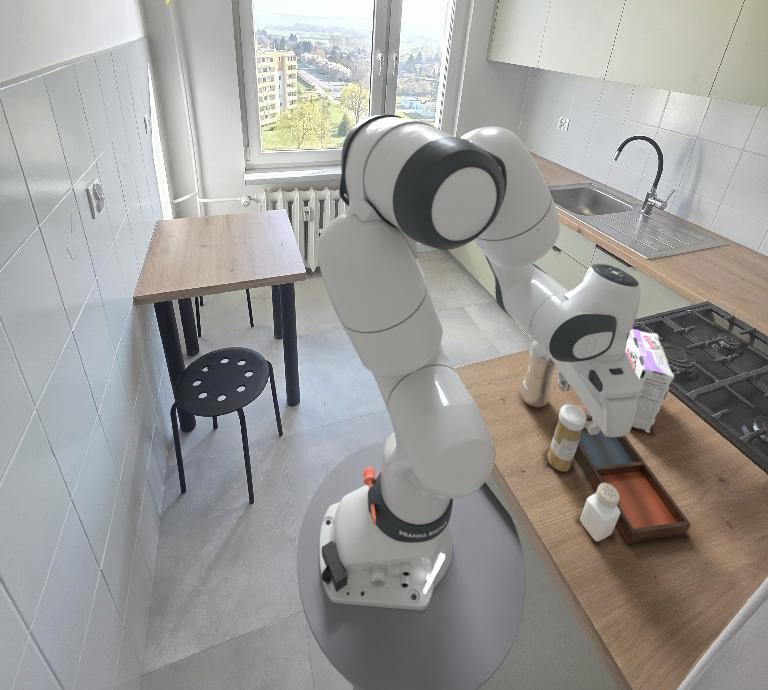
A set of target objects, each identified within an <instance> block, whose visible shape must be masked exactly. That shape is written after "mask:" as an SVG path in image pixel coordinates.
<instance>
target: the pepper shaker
mask: <svg viewBox="0 0 768 690" xmlns="http://www.w3.org/2000/svg"><path fill="white" fill-rule="evenodd" d="M619 499H620V498H619V493H618V491H617V490H616V488H614V487H613V486H612V485H610V484H608V483H601V484H600V485H599V486H598V488H597V491H596V490H595V493H592V494H591V495H589V496H588V497H587V498H586V501H585V503H584V507H583V509H582V512H581V515H580V517H579V521H580V523H581V525H582V526H583V527H584V529H585V530H586V531H587V533H588V534H589V535H590V536H591V538H592V539H593V540H594V541H595V542H600V541H602V540H604V539H606V538H607V537H609V536H611V535H612V534H613V532H614V530H615V527H616V526H617V525H616V523H617V520H618V518H619V516H620V510H619V508H618V507H617V504H618V502H619Z"/></svg>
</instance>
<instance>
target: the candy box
mask: <svg viewBox="0 0 768 690" xmlns="http://www.w3.org/2000/svg"><path fill="white" fill-rule="evenodd" d="M626 340H627V346H626V350H625V352H626V354H627V355H628V358H629V361H630V363H631V365H632V367H633V369H634V371H635V373H636V374H637V376H638V378H639V380H640V381H641V383H642V385H643V391H642V393H641V394H640V395H636V396H635V398H636V401H637V411H636V415H635V419H634V422H633V425H632V428H631V429H634V430H638V431H640V432H644V433H647V434H651V431H652V429H653V428H654V425H655V422H656V420H657V418H658V415H659V414H660V411H661V409H662V406H663V403H664V402H665V400H666V397H667V395H668V393H669V390H670V388H671V386H672V383H673V381H674V379H675V374H674V373H673V371H672V369H671V366H670V364H669V360H668V358H667V355H666V353H665V350H664V347H663V345H662V342H661V340H660V337H659V333H654V332H649V331H644V330H639V329H634V328H632V330H631V331H630V332H629V333H628V335H627V338H626Z"/></svg>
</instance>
